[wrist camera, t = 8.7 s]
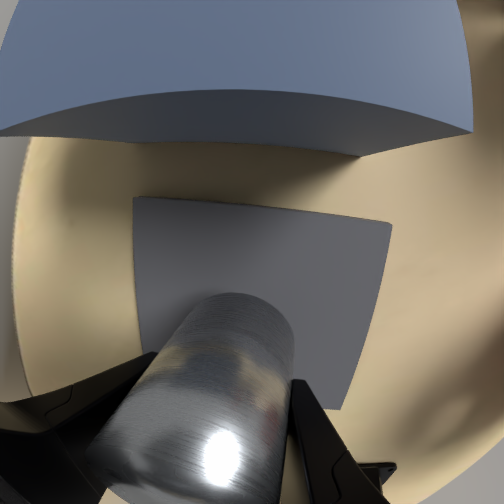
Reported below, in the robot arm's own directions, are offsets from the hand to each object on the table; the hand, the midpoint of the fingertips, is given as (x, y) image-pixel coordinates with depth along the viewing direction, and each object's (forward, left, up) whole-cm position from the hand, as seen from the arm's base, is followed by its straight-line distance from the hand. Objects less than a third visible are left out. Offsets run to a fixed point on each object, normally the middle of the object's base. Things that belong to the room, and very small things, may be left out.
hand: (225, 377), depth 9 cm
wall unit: (+10, +1, -4) cm, 11 cm away
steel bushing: (0, 0, -2) cm, 2 cm away
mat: (0, 0, -4) cm, 4 cm away
